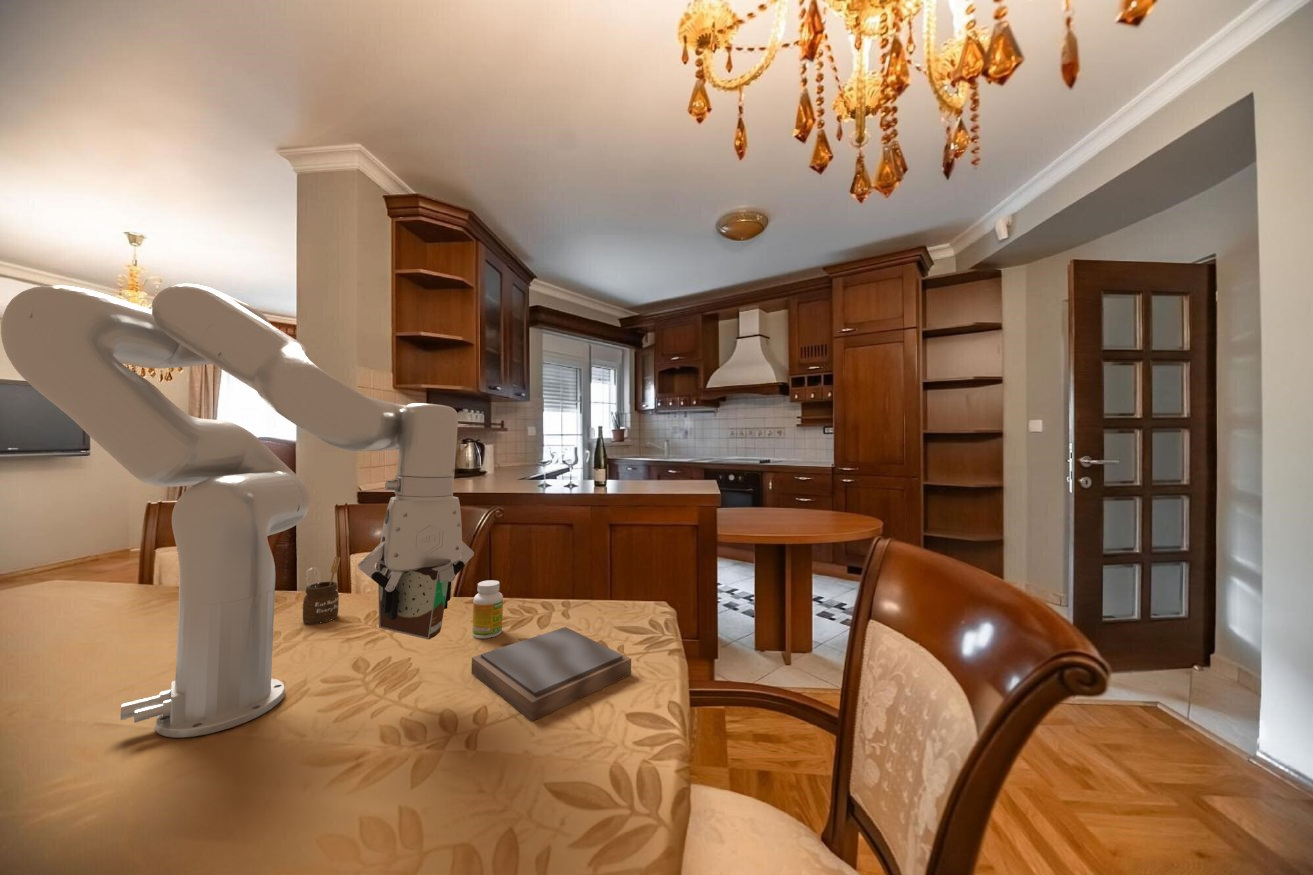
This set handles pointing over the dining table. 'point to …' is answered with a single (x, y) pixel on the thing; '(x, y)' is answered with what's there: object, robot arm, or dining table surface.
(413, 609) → the food container
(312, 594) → the utensil holder
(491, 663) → the podium
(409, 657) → the dining table surface
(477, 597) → the supplement bottle
